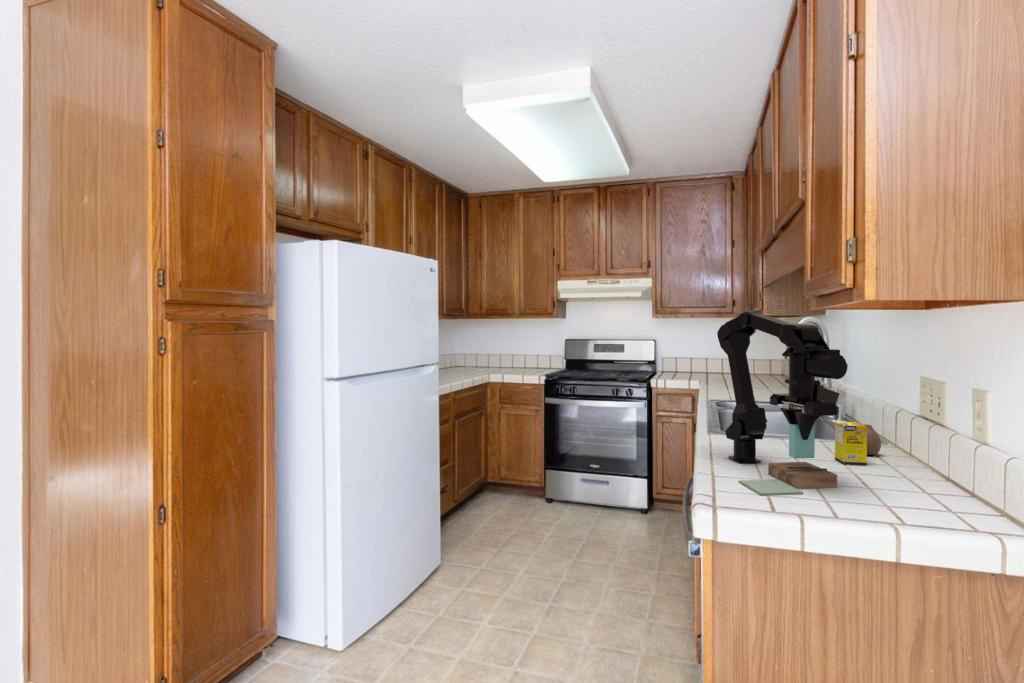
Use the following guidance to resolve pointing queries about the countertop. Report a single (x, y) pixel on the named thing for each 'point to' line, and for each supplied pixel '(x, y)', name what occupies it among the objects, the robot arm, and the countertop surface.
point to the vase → (872, 441)
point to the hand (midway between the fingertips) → (801, 438)
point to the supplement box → (851, 443)
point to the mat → (770, 487)
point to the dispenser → (802, 475)
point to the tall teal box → (801, 443)
